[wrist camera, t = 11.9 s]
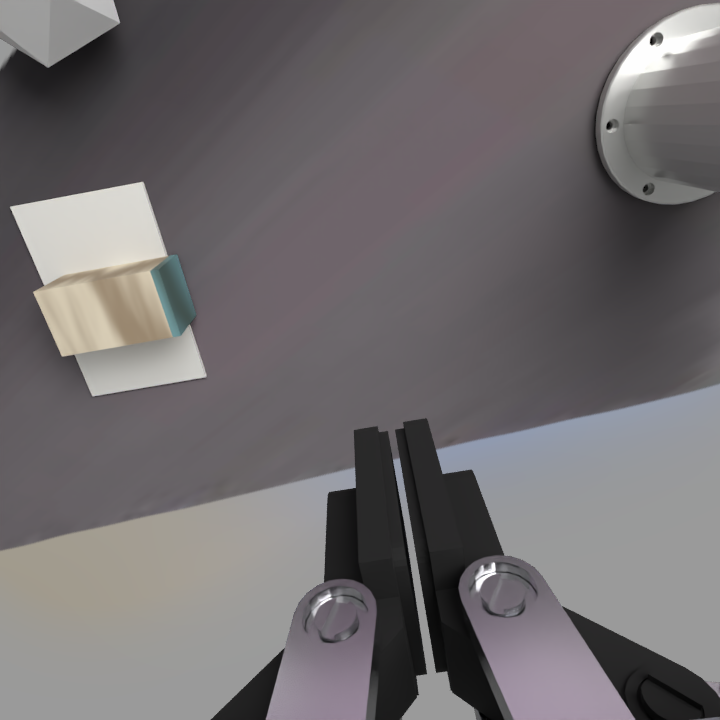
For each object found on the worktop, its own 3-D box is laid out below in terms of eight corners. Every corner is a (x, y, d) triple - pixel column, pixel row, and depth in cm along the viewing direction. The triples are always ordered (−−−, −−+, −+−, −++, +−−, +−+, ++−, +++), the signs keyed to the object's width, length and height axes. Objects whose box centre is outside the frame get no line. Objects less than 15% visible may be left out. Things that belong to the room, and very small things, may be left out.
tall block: (158, 269, 36) (33, 292, 37) (180, 335, 39) (62, 356, 39) (176, 254, 41) (64, 274, 41) (196, 315, 43) (88, 334, 43)
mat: (143, 181, 39) (142, 182, 38) (206, 375, 45) (206, 377, 45) (12, 206, 39) (10, 206, 39) (94, 394, 46) (92, 396, 45)
